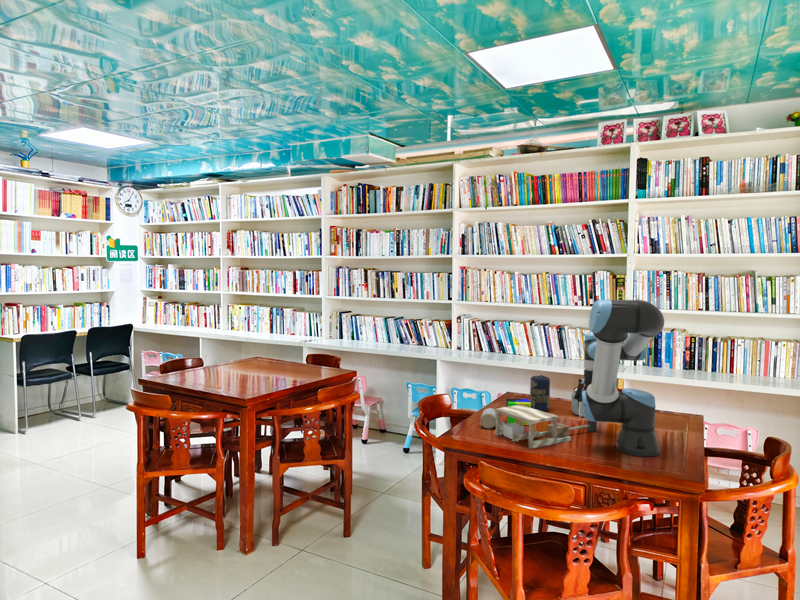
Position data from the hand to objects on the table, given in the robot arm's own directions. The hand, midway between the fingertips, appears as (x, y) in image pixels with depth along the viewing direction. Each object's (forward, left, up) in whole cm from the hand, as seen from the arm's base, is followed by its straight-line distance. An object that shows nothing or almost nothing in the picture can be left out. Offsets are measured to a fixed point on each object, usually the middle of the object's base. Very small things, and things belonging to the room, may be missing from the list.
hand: (592, 419), depth 232 cm
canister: (+38, -6, -5) cm, 39 cm away
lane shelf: (+5, +30, -5) cm, 31 cm away
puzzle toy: (+26, +19, -5) cm, 33 cm away
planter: (+21, -19, -5) cm, 29 cm away
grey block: (+10, +36, -5) cm, 38 cm away
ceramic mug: (+26, +34, -5) cm, 43 cm away
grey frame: (0, +11, -5) cm, 12 cm away
